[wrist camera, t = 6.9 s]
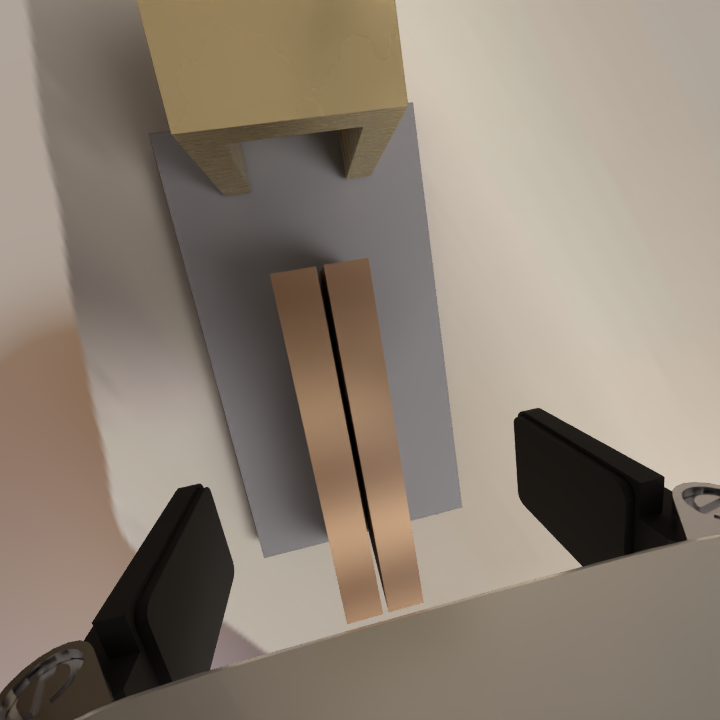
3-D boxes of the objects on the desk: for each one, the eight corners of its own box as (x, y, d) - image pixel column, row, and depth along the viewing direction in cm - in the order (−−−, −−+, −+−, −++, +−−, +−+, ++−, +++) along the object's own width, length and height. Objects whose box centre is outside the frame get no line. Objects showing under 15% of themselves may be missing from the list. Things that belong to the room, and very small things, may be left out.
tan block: (201, 97, 15) (125, -42, 9) (356, 80, 15) (387, -59, 9) (225, 196, 16) (171, 134, 9) (370, 176, 16) (408, 106, 10)
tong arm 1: (319, 273, 17) (323, 264, 12) (351, 267, 17) (368, 257, 12) (369, 534, 20) (388, 612, 15) (395, 528, 20) (423, 602, 15)
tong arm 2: (281, 279, 17) (269, 274, 12) (313, 274, 17) (315, 266, 12) (337, 542, 20) (347, 624, 15) (364, 535, 20) (382, 613, 15)
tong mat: (160, 145, 16) (148, 133, 15) (405, 115, 17) (412, 102, 16) (266, 543, 21) (264, 558, 20) (454, 496, 22) (462, 507, 21)
